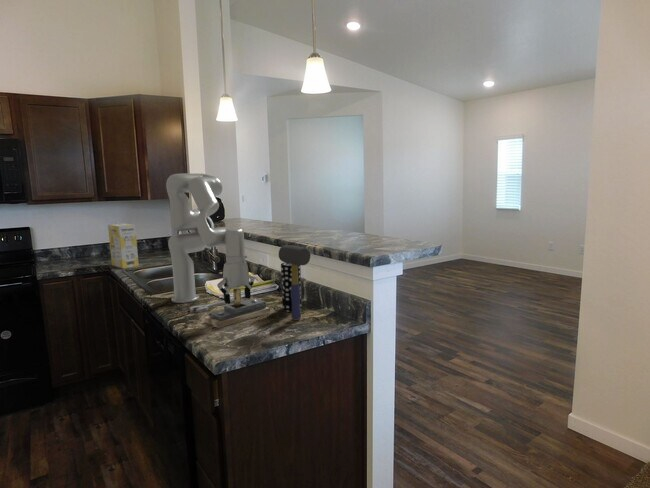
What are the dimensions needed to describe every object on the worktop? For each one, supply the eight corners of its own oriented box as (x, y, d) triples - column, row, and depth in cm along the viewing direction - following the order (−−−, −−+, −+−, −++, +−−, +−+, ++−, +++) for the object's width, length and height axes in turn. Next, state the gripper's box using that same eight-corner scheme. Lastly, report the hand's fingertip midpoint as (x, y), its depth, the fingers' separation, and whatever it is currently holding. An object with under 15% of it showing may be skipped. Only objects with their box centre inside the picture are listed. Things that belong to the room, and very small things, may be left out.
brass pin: (232, 312, 174) (231, 289, 173) (239, 311, 177) (237, 287, 175) (237, 314, 172) (235, 290, 171) (243, 312, 174) (242, 288, 173)
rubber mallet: (279, 318, 172) (276, 245, 168) (293, 314, 178) (290, 243, 173) (299, 325, 164) (297, 248, 159) (313, 320, 169) (311, 245, 164)
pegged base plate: (209, 316, 170) (208, 308, 169) (254, 304, 185) (254, 296, 184) (220, 321, 164) (219, 312, 164) (265, 308, 179) (265, 300, 179)
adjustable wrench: (238, 299, 203) (238, 296, 203) (245, 302, 198) (245, 298, 198) (188, 311, 186) (188, 307, 186) (195, 314, 181) (194, 310, 181)
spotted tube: (296, 312, 179) (295, 266, 176) (279, 310, 182) (277, 265, 179) (304, 307, 187) (303, 262, 184) (287, 305, 190) (286, 261, 187)
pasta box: (138, 265, 288) (135, 224, 284) (122, 268, 281) (119, 226, 277) (127, 262, 301) (123, 223, 296) (111, 265, 293) (107, 224, 289)
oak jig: (205, 322, 170) (204, 317, 169) (256, 308, 187) (256, 303, 187) (218, 327, 163) (218, 322, 162) (270, 312, 180) (270, 308, 180)
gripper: (248, 255, 180) (250, 294, 182) (211, 261, 168) (214, 303, 170) (258, 257, 175) (260, 297, 177) (221, 263, 163) (224, 307, 165)
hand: (237, 300), depth 174 cm, fingers open, 9 cm apart
